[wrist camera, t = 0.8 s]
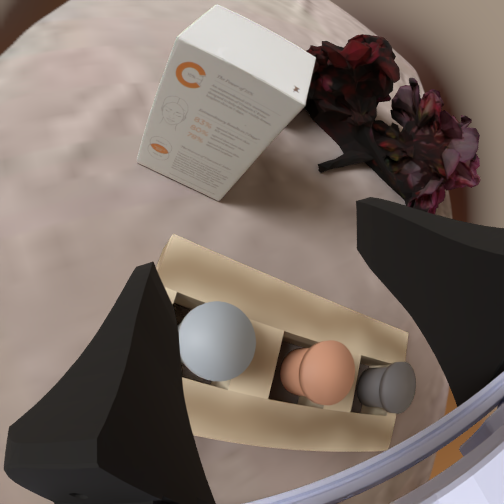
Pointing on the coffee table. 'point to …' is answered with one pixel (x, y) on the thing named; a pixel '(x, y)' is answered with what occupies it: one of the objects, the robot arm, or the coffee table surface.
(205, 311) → the knob
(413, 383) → the plunger charcoal
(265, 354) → the button board
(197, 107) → the small box
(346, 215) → the coffee table surface
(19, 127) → the coffee table surface
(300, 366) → the plunger terracotta
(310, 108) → the flower arrangement
